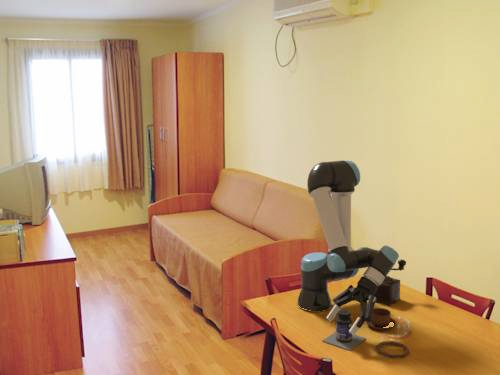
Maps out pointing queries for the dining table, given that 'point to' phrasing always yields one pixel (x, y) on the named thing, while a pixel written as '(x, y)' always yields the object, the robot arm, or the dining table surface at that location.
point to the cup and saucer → (380, 319)
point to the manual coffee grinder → (390, 288)
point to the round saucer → (392, 354)
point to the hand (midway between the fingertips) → (339, 326)
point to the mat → (345, 345)
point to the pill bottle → (343, 326)
